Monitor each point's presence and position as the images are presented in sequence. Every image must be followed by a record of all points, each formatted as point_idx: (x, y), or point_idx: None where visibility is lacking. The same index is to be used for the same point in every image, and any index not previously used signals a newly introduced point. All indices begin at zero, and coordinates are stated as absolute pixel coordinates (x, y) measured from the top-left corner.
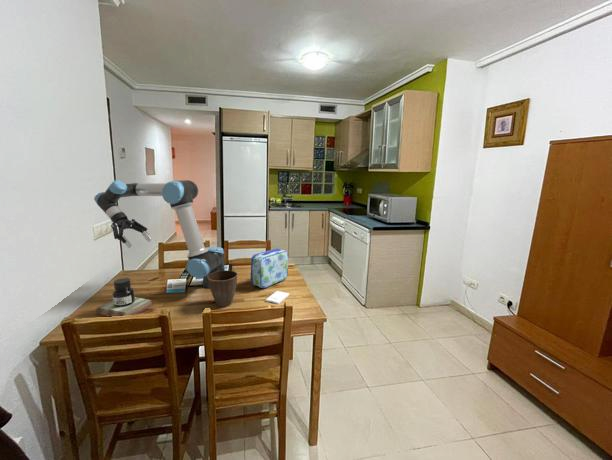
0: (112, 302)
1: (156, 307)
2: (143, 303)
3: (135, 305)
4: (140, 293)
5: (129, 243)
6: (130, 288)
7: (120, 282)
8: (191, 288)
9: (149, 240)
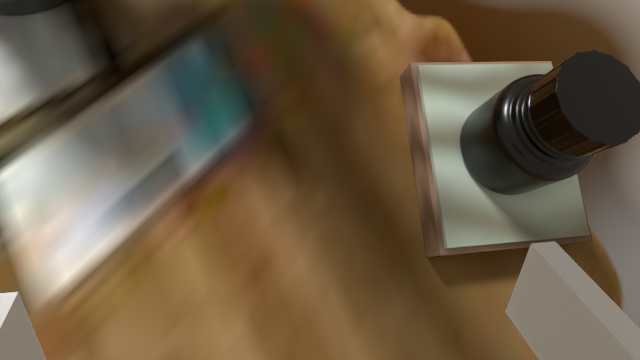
0: (528, 218)
1: (401, 44)
2: (455, 66)
3: (490, 79)
4: (321, 264)
5: (583, 271)
6: (530, 84)
7: (621, 76)
8: (140, 33)
9: (29, 343)
